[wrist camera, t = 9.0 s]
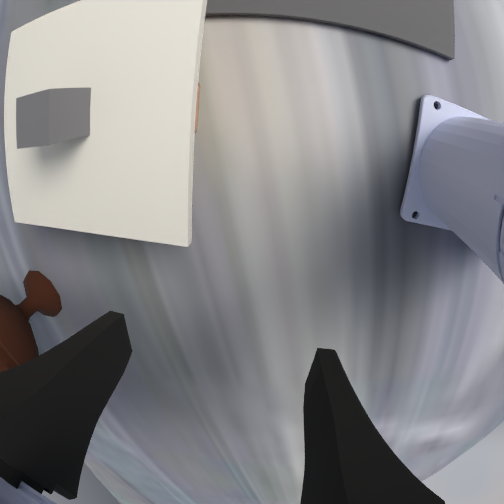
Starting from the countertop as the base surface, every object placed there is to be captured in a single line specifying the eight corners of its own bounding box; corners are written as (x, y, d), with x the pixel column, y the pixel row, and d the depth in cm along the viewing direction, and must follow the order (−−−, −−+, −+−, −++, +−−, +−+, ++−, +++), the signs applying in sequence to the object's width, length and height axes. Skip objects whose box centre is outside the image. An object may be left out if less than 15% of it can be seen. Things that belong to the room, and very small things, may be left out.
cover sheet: (210, -22, 9) (184, -56, 5) (191, 241, 14) (164, 280, 11) (18, 32, 9) (-23, 31, 6) (20, 218, 15) (-16, 240, 12)
